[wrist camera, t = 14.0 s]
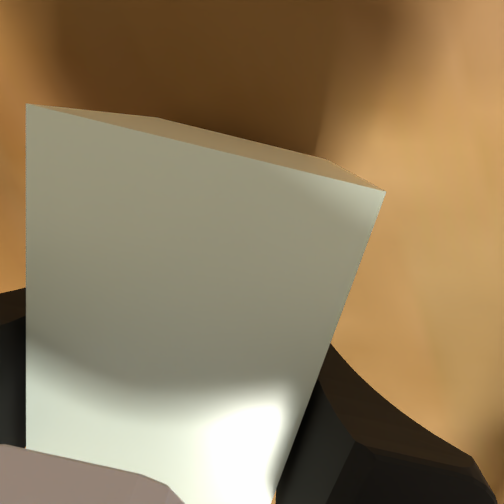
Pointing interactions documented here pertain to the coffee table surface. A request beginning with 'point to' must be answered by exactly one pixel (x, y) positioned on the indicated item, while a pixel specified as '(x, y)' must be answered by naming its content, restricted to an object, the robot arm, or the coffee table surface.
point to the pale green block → (180, 296)
